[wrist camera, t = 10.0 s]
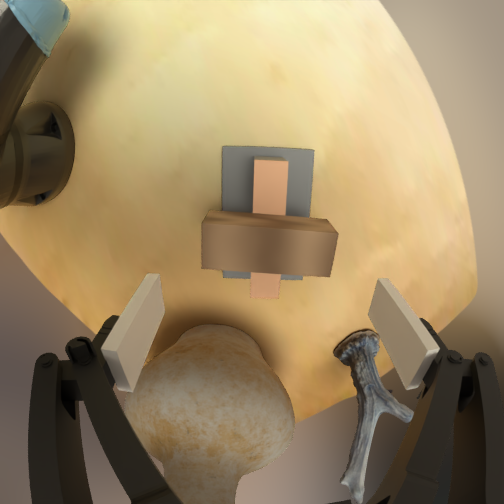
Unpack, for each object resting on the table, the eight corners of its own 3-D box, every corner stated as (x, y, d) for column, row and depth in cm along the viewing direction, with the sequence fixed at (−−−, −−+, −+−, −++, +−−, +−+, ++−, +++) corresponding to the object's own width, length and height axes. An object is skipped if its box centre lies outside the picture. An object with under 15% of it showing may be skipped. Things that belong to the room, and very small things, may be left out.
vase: (279, 399, 46) (287, 549, 19) (163, 390, 46) (126, 531, 19) (295, 304, 38) (333, 533, 10) (141, 295, 38) (43, 484, 10)
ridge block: (223, 274, 36) (217, 304, 30) (223, 146, 30) (214, 148, 23) (301, 276, 36) (310, 306, 30) (312, 149, 30) (327, 153, 23)
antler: (364, 321, 39) (426, 465, 16) (388, 342, 41) (445, 467, 18) (309, 364, 43) (333, 506, 20) (337, 381, 45) (366, 505, 22)
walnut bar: (208, 250, 27) (201, 268, 23) (209, 210, 25) (201, 223, 22) (320, 257, 27) (329, 277, 24) (327, 219, 26) (338, 233, 22)
